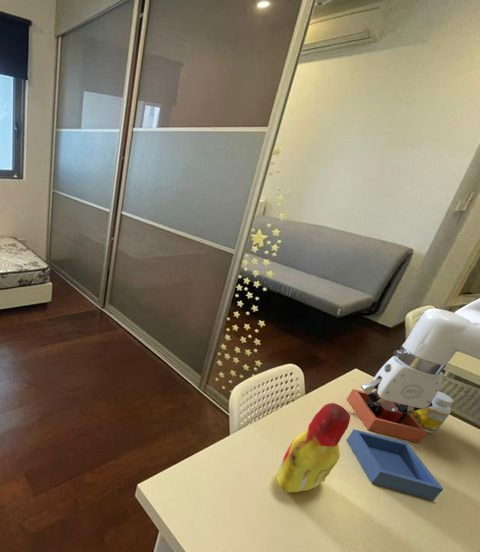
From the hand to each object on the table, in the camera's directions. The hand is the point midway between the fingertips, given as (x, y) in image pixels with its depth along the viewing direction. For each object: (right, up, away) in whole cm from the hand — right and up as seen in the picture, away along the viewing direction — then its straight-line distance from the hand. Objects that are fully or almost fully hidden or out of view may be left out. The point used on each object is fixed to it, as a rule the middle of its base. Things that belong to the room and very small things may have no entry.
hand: (381, 416), depth 81 cm
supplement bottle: (+10, -2, 0) cm, 10 cm away
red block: (0, 0, 0) cm, 0 cm away
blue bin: (-11, -5, -13) cm, 17 cm away
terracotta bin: (0, -1, 0) cm, 1 cm away
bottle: (-34, -5, -17) cm, 38 cm away
